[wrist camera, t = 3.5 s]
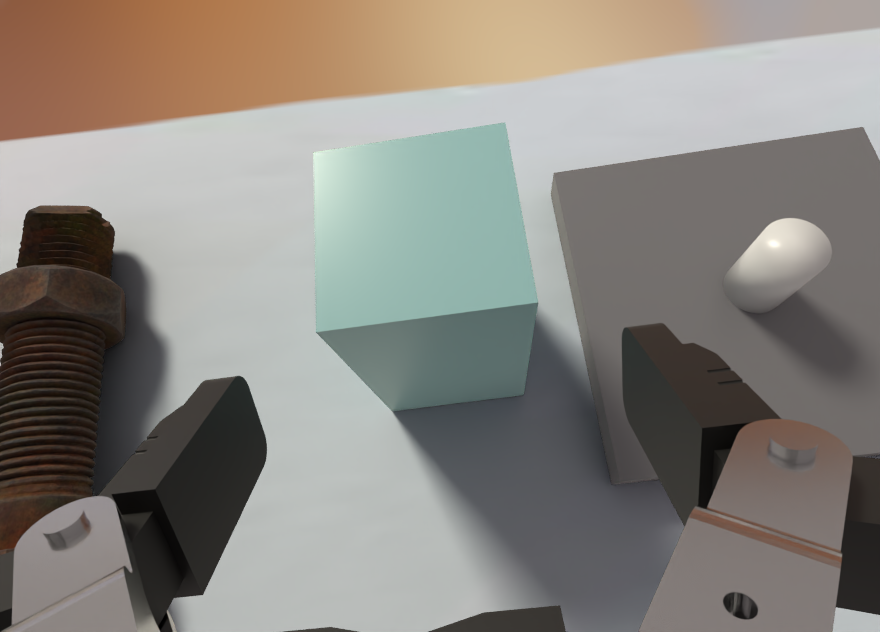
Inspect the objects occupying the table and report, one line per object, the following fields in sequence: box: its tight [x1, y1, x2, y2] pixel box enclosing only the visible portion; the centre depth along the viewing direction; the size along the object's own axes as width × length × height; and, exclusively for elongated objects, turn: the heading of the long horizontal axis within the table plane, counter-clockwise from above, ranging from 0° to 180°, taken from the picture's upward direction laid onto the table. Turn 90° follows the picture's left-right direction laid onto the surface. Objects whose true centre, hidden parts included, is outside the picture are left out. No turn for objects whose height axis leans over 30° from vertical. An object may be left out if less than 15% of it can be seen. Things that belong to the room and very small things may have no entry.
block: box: [313, 123, 538, 411], centre depth 17 cm, size 5×5×9 cm
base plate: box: [551, 127, 880, 485], centre depth 18 cm, size 12×12×4 cm
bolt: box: [0, 206, 126, 555], centre depth 20 cm, size 6×5×15 cm
